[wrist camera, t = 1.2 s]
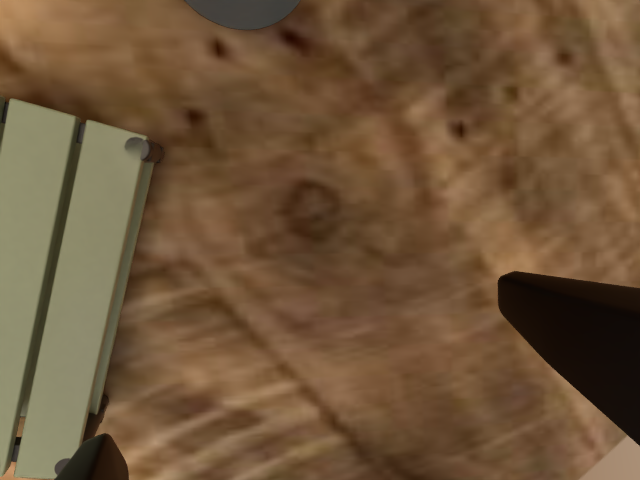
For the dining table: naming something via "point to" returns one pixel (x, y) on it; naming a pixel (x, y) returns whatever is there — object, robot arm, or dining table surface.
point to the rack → (62, 274)
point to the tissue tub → (244, 12)
